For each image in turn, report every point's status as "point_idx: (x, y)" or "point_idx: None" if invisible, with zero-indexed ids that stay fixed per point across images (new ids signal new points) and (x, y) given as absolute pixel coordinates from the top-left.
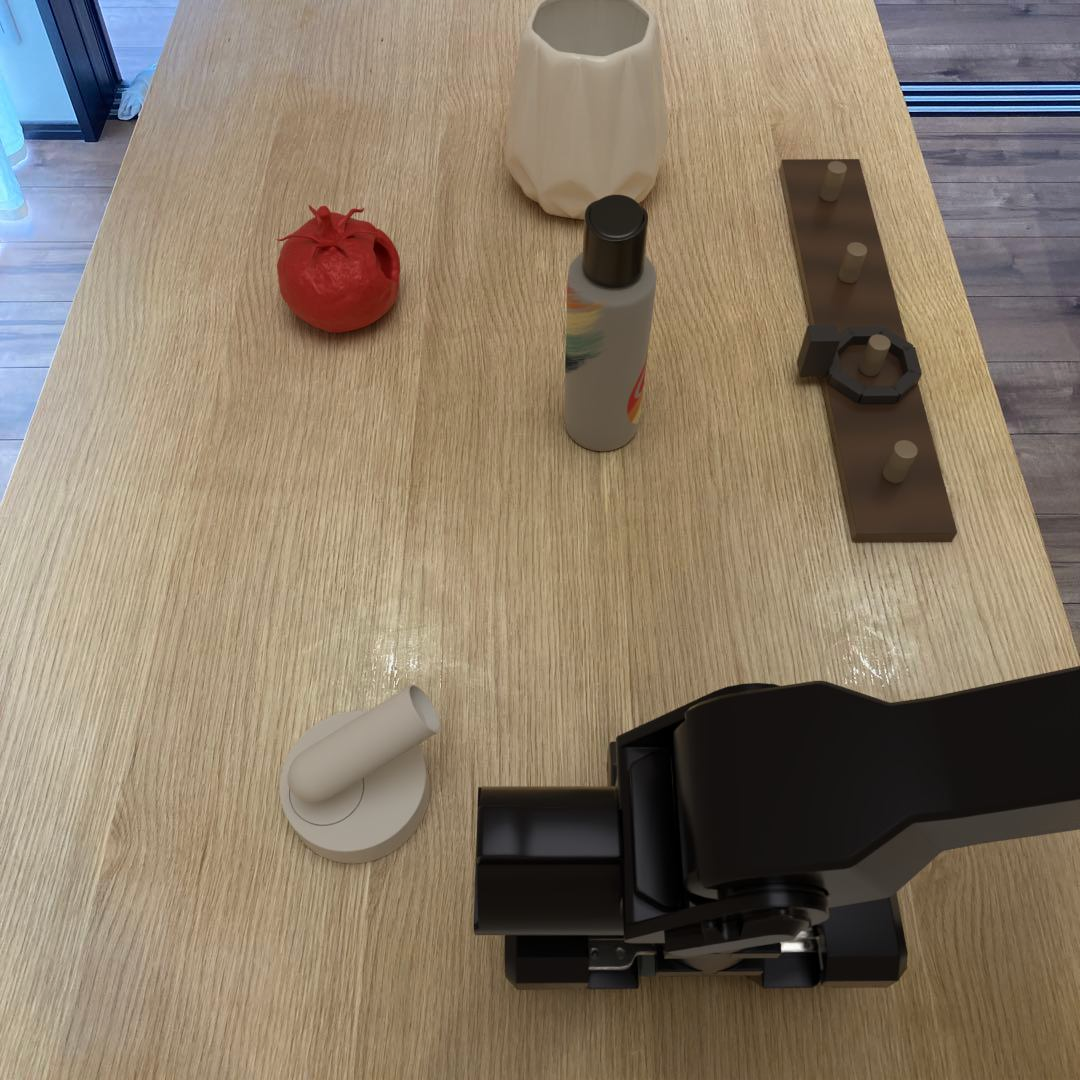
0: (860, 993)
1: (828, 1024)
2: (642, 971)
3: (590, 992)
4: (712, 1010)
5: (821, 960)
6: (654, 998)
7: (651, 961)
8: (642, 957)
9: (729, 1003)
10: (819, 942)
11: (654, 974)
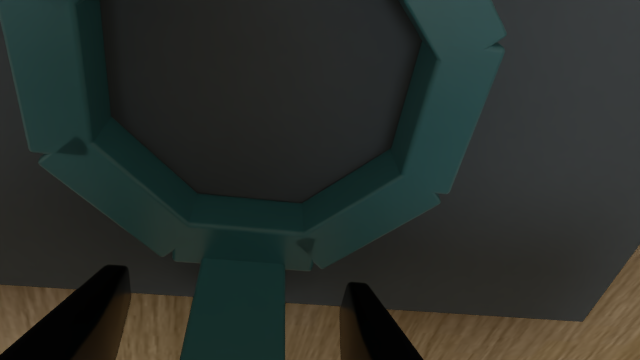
0: (584, 326)
1: (499, 355)
2: (146, 291)
3: (32, 288)
4: (299, 328)
5: (555, 302)
6: (181, 306)
7: (170, 275)
8: (147, 268)
9: (335, 322)
10: (574, 276)
11: (177, 294)
